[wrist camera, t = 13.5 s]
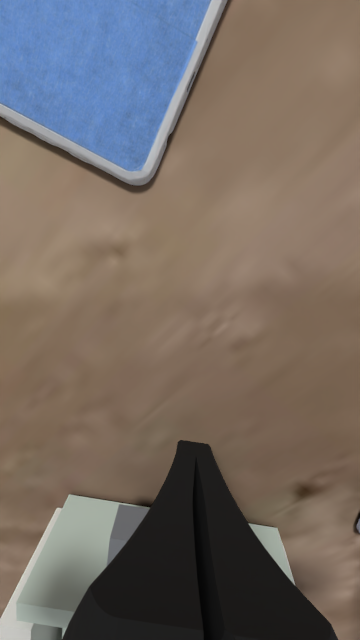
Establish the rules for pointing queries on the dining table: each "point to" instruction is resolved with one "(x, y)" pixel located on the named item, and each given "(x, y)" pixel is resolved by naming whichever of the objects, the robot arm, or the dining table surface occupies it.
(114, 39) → the tablet computer
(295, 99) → the dining table surface
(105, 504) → the tray
